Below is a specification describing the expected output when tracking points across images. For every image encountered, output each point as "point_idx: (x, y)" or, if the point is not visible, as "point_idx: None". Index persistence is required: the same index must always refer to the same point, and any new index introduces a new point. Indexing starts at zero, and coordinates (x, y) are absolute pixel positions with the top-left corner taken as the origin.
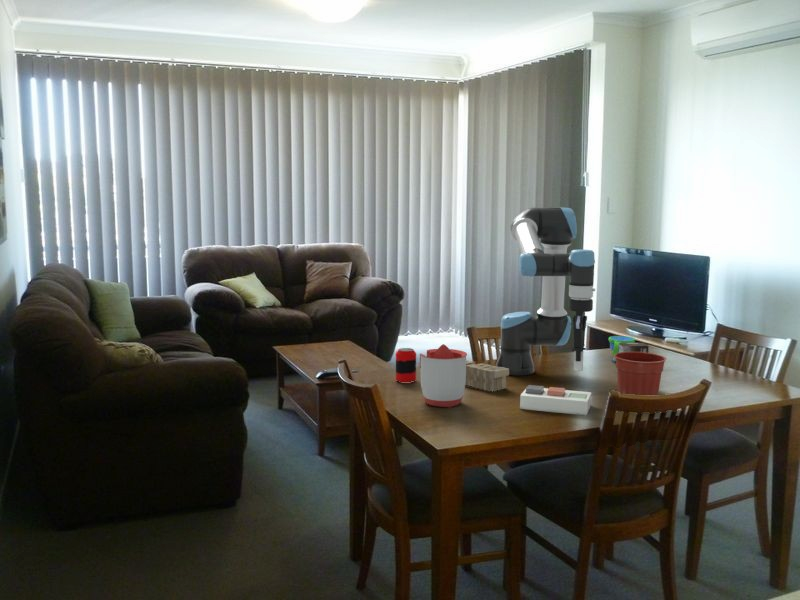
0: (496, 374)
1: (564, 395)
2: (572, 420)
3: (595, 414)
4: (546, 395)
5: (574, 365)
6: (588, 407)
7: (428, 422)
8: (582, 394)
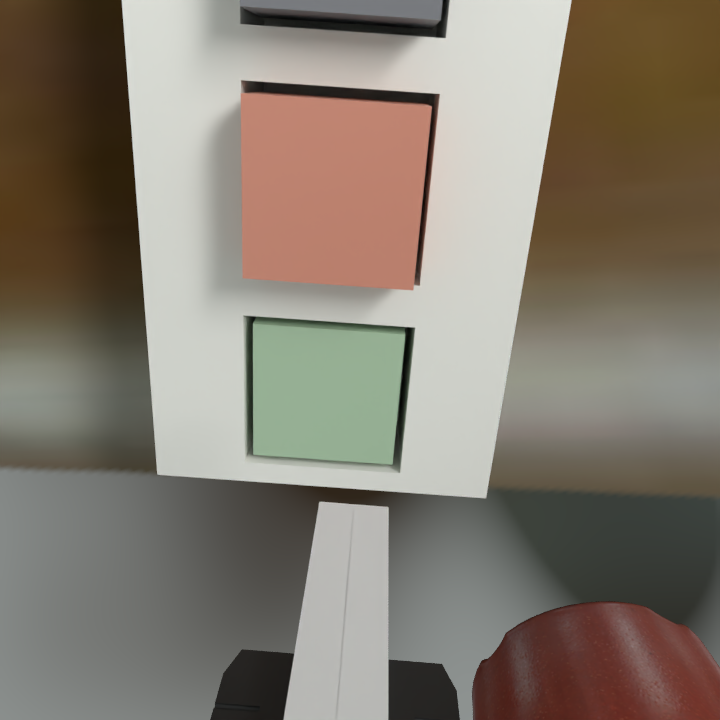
0: None
1: None
2: (18, 327)
3: None
4: (226, 86)
5: (311, 562)
6: None
7: None
8: (395, 431)
